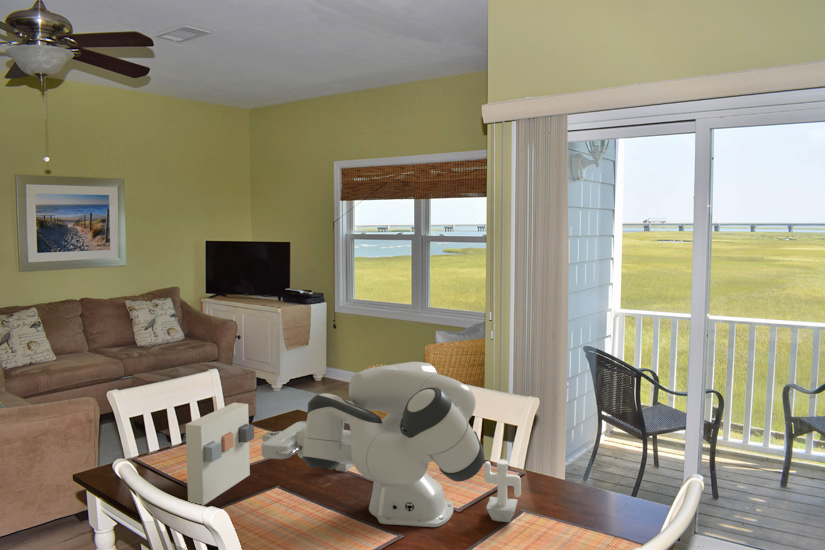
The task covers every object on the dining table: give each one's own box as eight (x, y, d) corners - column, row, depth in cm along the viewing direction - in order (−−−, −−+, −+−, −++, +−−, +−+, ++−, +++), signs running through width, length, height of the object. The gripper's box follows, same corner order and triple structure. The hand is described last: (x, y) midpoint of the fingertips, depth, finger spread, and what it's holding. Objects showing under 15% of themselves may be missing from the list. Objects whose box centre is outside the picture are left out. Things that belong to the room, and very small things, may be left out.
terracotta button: (233, 446, 179) (233, 433, 179) (225, 451, 175) (224, 437, 175) (221, 445, 180) (221, 431, 180) (213, 449, 177) (212, 436, 176)
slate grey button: (221, 457, 171) (221, 442, 171) (212, 462, 167) (211, 447, 167) (209, 455, 172) (208, 441, 172) (199, 460, 169) (199, 446, 168)
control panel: (249, 474, 189) (248, 404, 187) (203, 505, 168) (201, 426, 166) (235, 472, 190) (234, 402, 189) (188, 502, 170) (185, 424, 168)
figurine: (518, 526, 156) (519, 468, 155) (481, 521, 159) (482, 464, 157) (522, 513, 163) (522, 458, 162) (486, 509, 165) (486, 454, 164)
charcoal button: (254, 438, 186) (253, 425, 186) (246, 442, 182) (246, 429, 182) (242, 436, 187) (242, 423, 187) (234, 441, 184) (234, 428, 183)
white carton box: (355, 464, 197) (355, 433, 197) (345, 471, 191) (345, 440, 190) (345, 462, 199) (344, 432, 198) (335, 470, 192) (334, 438, 192)
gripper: (290, 467, 158) (243, 460, 163) (326, 441, 178) (283, 435, 182) (290, 443, 158) (243, 437, 162) (326, 419, 177) (283, 414, 182)
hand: (265, 436), depth 172 cm, fingers closed
